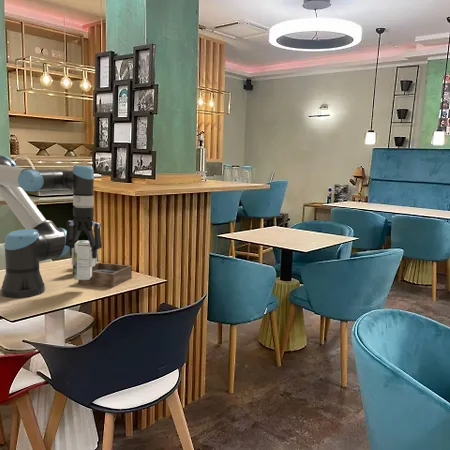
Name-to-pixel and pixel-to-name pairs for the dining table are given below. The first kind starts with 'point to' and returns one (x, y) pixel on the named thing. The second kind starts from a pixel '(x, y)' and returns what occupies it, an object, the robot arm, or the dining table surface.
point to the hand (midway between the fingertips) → (83, 265)
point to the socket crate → (108, 275)
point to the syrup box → (82, 260)
